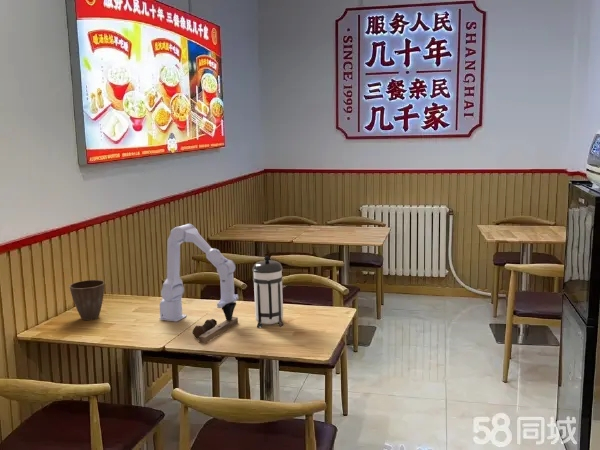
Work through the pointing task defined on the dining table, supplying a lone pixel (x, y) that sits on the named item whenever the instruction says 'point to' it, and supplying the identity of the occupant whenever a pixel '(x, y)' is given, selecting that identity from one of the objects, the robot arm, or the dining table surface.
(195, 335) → the bolt
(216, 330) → the batten
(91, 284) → the plant pot
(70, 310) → the dining table surface
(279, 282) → the coffee press
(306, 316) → the dining table surface
